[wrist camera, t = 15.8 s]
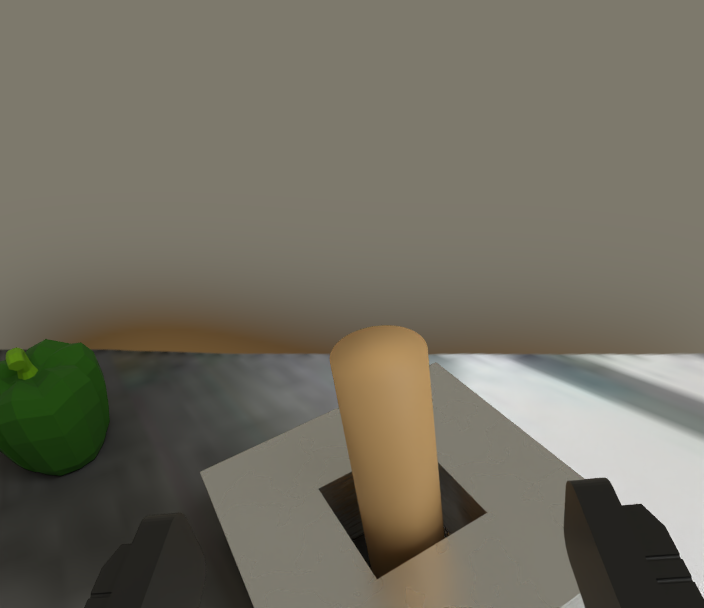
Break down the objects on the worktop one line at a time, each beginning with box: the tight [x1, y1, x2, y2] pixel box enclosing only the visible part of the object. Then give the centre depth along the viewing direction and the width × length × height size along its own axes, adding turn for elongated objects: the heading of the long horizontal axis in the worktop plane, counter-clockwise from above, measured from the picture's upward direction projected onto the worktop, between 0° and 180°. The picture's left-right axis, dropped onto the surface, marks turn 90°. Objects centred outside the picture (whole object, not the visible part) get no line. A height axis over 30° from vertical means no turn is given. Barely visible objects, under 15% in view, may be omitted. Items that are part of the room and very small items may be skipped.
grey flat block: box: [200, 362, 585, 608], centre depth 28 cm, size 16×16×5 cm
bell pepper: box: [0, 339, 110, 476], centre depth 39 cm, size 8×8×10 cm
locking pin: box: [330, 325, 445, 579], centre depth 26 cm, size 4×4×14 cm
